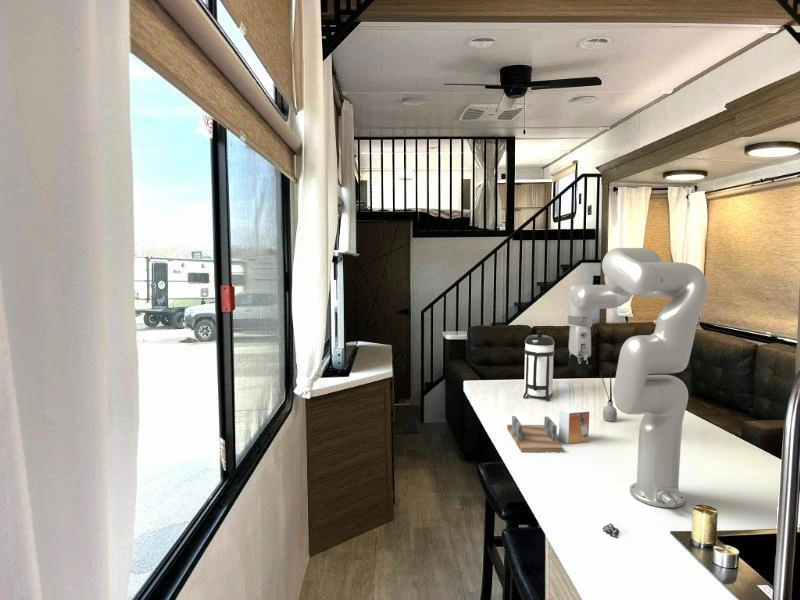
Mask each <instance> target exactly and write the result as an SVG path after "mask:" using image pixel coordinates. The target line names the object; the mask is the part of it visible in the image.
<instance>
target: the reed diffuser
mask: <svg viewBox="0 0 800 600" xmlns="http://www.w3.org/2000/svg"><path fill="white" fill-rule="evenodd" d="M598 370H599V375H600V377H601V379H602V383H603V387H604V390H605V392H606V397H607V398H608V401H607V404H606V406H605V407H603V409H602V419H603V420H605V421H610V422H612V421H613V422H614V421H616V420H617V419H618V412H617V411H618V410H617V408H615V406H614V400H613V394H612V393H613V392H612V391H613V390H612V389H613V388H612V367H610V368H609V373H610V374H609V375H610V376H609V380H610V381H609V394H608V391H607V388H606V387H607V386H606V384H605V381H604V378H603V375H602V372H601V369H598Z"/></svg>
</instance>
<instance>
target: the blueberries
mask: <svg viewBox="0 0 800 600" xmlns="http://www.w3.org/2000/svg"><path fill="white" fill-rule="evenodd" d="M602 527H603V528H602V531H603V532H604V533H605V534H606V535H609V536H610V537H611V538H614V539H618V538H619V533H620V530H619V528H617V527H615V525H614V524H613V523H611V522H610V523H608V524H606V525H604V526H602ZM626 534H627V531H626Z"/></svg>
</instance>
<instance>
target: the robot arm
mask: <svg viewBox="0 0 800 600" xmlns="http://www.w3.org/2000/svg"><path fill="white" fill-rule="evenodd" d="M661 259H662V258H661V257H660V255H659V254H658V253H657V252H656V251H655V250H652V249H650V248H644V247H616V248H612V249H610V250H609V251H608V252H607V253H606V254H605V255H604V257H603V260H602V261H601V269H602V273H603V274H604V283H605V284H587V283H573V284H570V286H569V288H568V306H567V326H569V332H568V335H569V337H568V350H569V354H568V356H569V357H568V368H569V369H570V370H576V376H579V377H587V376H588V367H589V365H588V364H589V361H588V360H589V358H590V357H591V355H592V333H591V327H592V325H593V310H596V309H597V310H599V309H603V310H604V309H605V310H606V309H616V308H618V307H621V306H623V305H624V304H626V303H628V302H629V301H630V300H631V298H632V297H633V296H635V297H639V298H652V297H653V298H655V297H656V298H657V297H658V298H662V297H663V298H664V297H667V298H668V297H670V300H669V301H668V302H667V303H666V304H665V305H664V306H663V307H662V309H661V310H660V312H659V314H658V316H657V319H656V324H655V328H654V332H653V333H651V334H647V335H646V334H643V335H634V336H630V337H629V338H627V339H626V340H625V341H624V343H622V346H621V348H620V351H619V356H618V362H617V365H616V366H617V368H616V372H615V373H616V374H615V379H614V385H613V402H614V404H615V406H616V407H617V408H616V409H618V410H619V411H620V412H621V413H624V414H626V415H636V416H637V415H643V417H642V419H641V421H640V424H639V428H638V431H639V432H638V448H637V449H638V450H637V466H636V467H637V470H636V482H634V483H632V484H631V485H629V493H630V495H631V496H632V497H633V498H634V499H636V500H637V501H639V502H641V503H644V504H647V505H649V506H654V507H658V508H668V509H671V508H679V507H682V506H683V505H684V504H685V502H686V497H685V495H684V494H683V493H682V492H681V491H680V490H679V489H680V488H679V485H680V484H679V483H680V465H681V464H680V462H681V447H682V446H681V444H682V443H681V442H682V433H683V432H682V431H683V422H684V417H685V413H686V410H687V406H688V401H689V391H688V388H687V385H686V384H685V382H684V381H683V380H682V379H680V378H679V377H676V376H674V375H670V374H675V373H680V372H683V371H684V370H685V369H687V367H688V365H689V361H690V357H691V353H692V349H693V345H694V340H695V337H696V336H695V335H696V331H697V326H698V321H699V320H700V316H701V313H702V311H703V308H704V307H705V304H706V300H707V296H708V282H707V279H706V276H705V274H704V273H703V271H702V270H701V269H700V268H699V267H697V266H696V265H693V264H690V263H686V262H678V261H677V262H676V261H675V262H674V261H670V262H669V261H663V262H662V260H661Z"/></svg>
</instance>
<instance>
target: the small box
mask: <svg viewBox="0 0 800 600" xmlns="http://www.w3.org/2000/svg"><path fill="white" fill-rule="evenodd" d="M558 419H559V420H558V424H559V425H558V439H559V440H561V441H563V442H564V443H566V444H568V445H569V444H576V443H577V444H579V443H589V431H590V430H589V429H590V427H589V426H590V411H588V410H586V409H584V408H583V407H580V406H578V407H568V408H559V417H558Z"/></svg>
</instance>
